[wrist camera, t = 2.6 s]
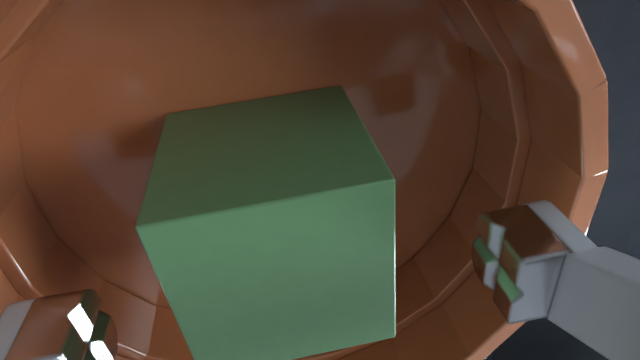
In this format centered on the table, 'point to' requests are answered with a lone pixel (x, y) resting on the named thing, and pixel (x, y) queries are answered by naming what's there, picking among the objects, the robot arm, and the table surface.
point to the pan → (279, 79)
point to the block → (272, 227)
